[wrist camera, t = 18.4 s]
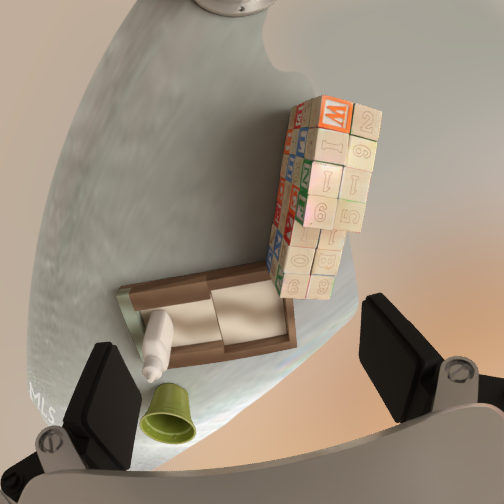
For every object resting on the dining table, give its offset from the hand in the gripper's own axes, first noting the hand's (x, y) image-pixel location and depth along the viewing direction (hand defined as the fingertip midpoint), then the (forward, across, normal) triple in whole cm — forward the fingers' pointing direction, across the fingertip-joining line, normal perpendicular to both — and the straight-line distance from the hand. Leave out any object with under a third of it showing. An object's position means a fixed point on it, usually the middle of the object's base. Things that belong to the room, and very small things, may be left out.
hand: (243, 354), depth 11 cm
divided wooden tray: (+30, +5, +17) cm, 35 cm away
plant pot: (+31, +16, +33) cm, 48 cm away
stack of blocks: (+30, -10, +1) cm, 31 cm away
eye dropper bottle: (+29, +12, +17) cm, 36 cm away
